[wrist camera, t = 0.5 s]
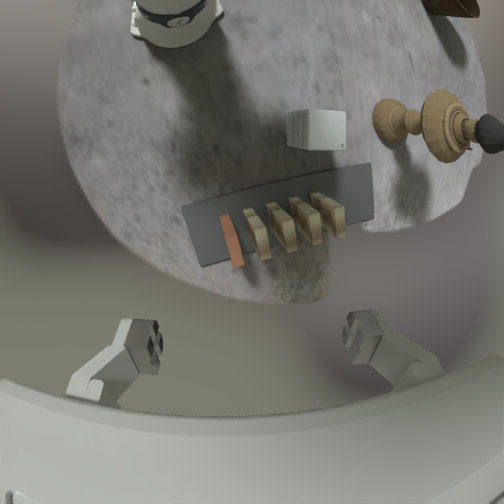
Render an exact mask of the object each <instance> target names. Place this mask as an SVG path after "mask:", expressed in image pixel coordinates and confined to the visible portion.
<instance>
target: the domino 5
mask: <svg viewBox="0 0 504 504" xmlns="http://www.w3.org/2000/svg"><path fill="white" fill-rule="evenodd" d="M309 195H310V202H311V207H313V208H314V209H315V210H317V211H318V212H319V213H320V220H321V226H323V227H324V228H325V229H326V230H327V231H329V232H330V233H331V234H332V235H333V236H335V237H336V238H341V237H344V236H346V228H345V227H346V226H345V213H344V206H342V205H341V204H339V203H337V202H336V201H334V200H332V199H330V198H329V197H327V196H325V195H323V194H321V193H320V192H318V191H317V192H312V193H309Z"/></svg>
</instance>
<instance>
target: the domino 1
mask: <svg viewBox="0 0 504 504" xmlns="http://www.w3.org/2000/svg"><path fill="white" fill-rule="evenodd" d="M219 217H220V220H221V224H222V228H223V231H224V235H225V239H226V242H227V246H228V249H229V253H230V257H231V260H232V264H233V267H234V268H237V267H240V266H244V265H245V264H244V260H243V256H242V252H241V248H240V245H239V241H238V237H237V233H236V231H235V228H234V226H233V223H232V221H231V218H230V216H229V214H226V215H222V216H219Z"/></svg>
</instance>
